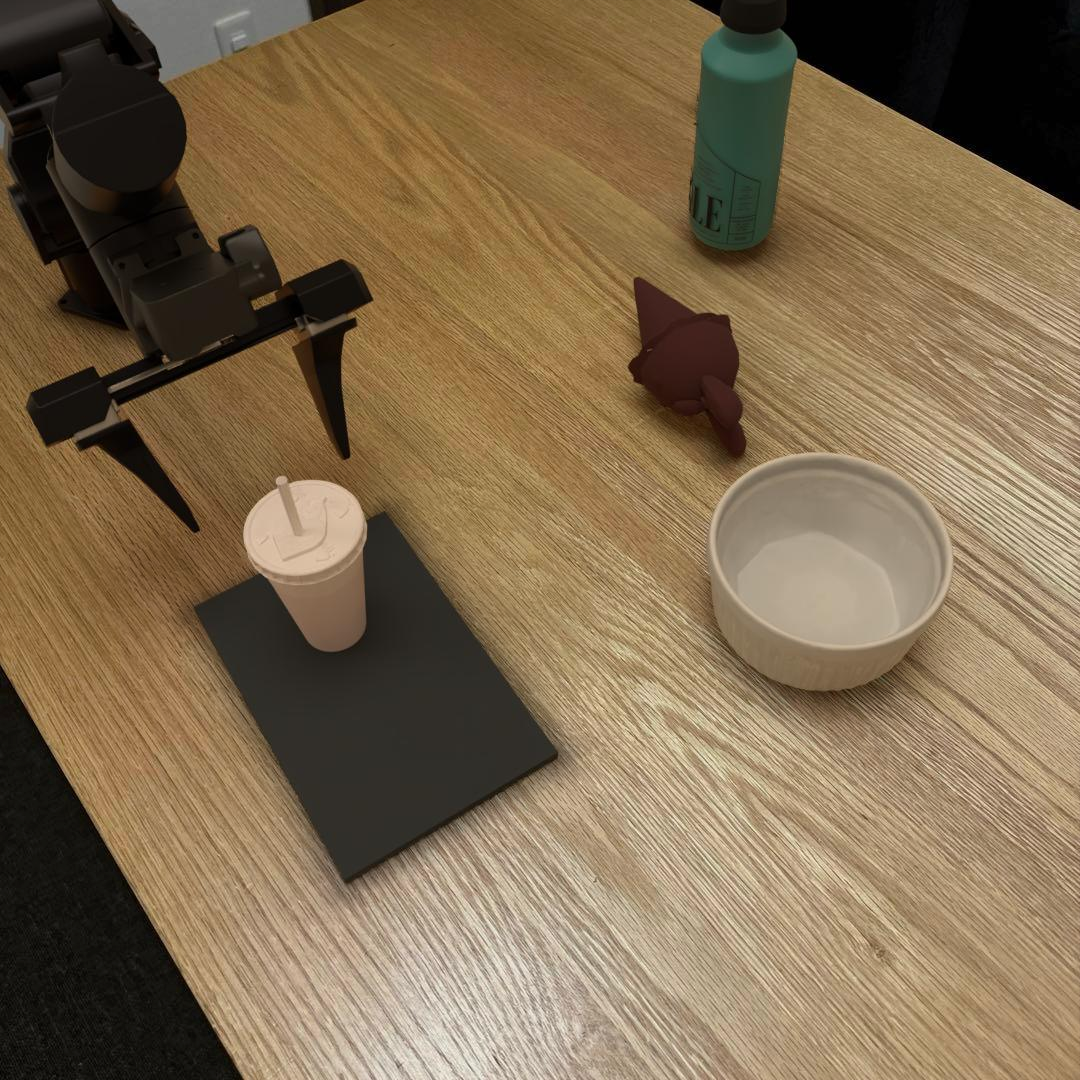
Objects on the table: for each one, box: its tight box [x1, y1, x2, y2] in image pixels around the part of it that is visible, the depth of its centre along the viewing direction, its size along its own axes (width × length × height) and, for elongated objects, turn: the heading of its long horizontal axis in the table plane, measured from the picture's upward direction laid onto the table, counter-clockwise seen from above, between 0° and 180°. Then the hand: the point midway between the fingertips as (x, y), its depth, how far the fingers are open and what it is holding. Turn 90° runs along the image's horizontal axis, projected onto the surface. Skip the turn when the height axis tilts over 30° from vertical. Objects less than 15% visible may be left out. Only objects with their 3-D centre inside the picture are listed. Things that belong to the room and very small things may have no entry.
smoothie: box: [243, 475, 367, 652], centre depth 64 cm, size 6×6×14 cm
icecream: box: [627, 276, 748, 459], centre depth 78 cm, size 7×7×15 cm
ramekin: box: [705, 451, 955, 692], centre depth 67 cm, size 13×13×7 cm
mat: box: [193, 510, 559, 884], centre depth 68 cm, size 20×13×1 cm, turn 32°
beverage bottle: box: [686, 0, 798, 251], centre depth 82 cm, size 6×7×20 cm
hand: (273, 494), depth 66 cm, fingers open, 9 cm apart
